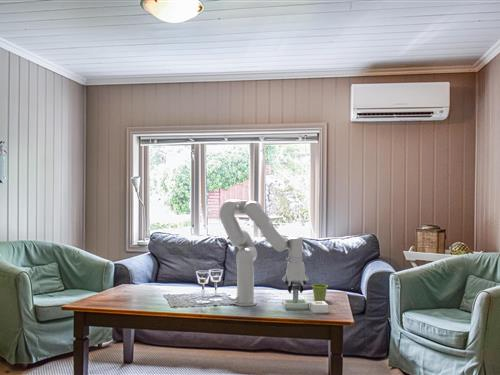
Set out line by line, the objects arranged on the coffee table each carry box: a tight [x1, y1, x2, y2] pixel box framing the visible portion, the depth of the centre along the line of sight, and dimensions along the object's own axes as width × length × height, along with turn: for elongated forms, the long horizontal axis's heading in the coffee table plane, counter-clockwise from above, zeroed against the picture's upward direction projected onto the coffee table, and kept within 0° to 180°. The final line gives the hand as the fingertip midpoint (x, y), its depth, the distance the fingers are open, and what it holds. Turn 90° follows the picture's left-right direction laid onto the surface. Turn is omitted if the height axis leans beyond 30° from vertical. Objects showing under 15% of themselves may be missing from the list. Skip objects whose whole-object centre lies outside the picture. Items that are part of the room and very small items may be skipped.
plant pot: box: [311, 283, 328, 302], centre depth 238 cm, size 9×9×9 cm
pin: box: [291, 283, 300, 303], centre depth 223 cm, size 4×4×11 cm
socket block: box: [309, 300, 329, 314], centre depth 215 cm, size 8×8×4 cm
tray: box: [281, 298, 310, 311], centre depth 223 cm, size 13×10×3 cm
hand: (295, 292), depth 223 cm, fingers open, 5 cm apart
